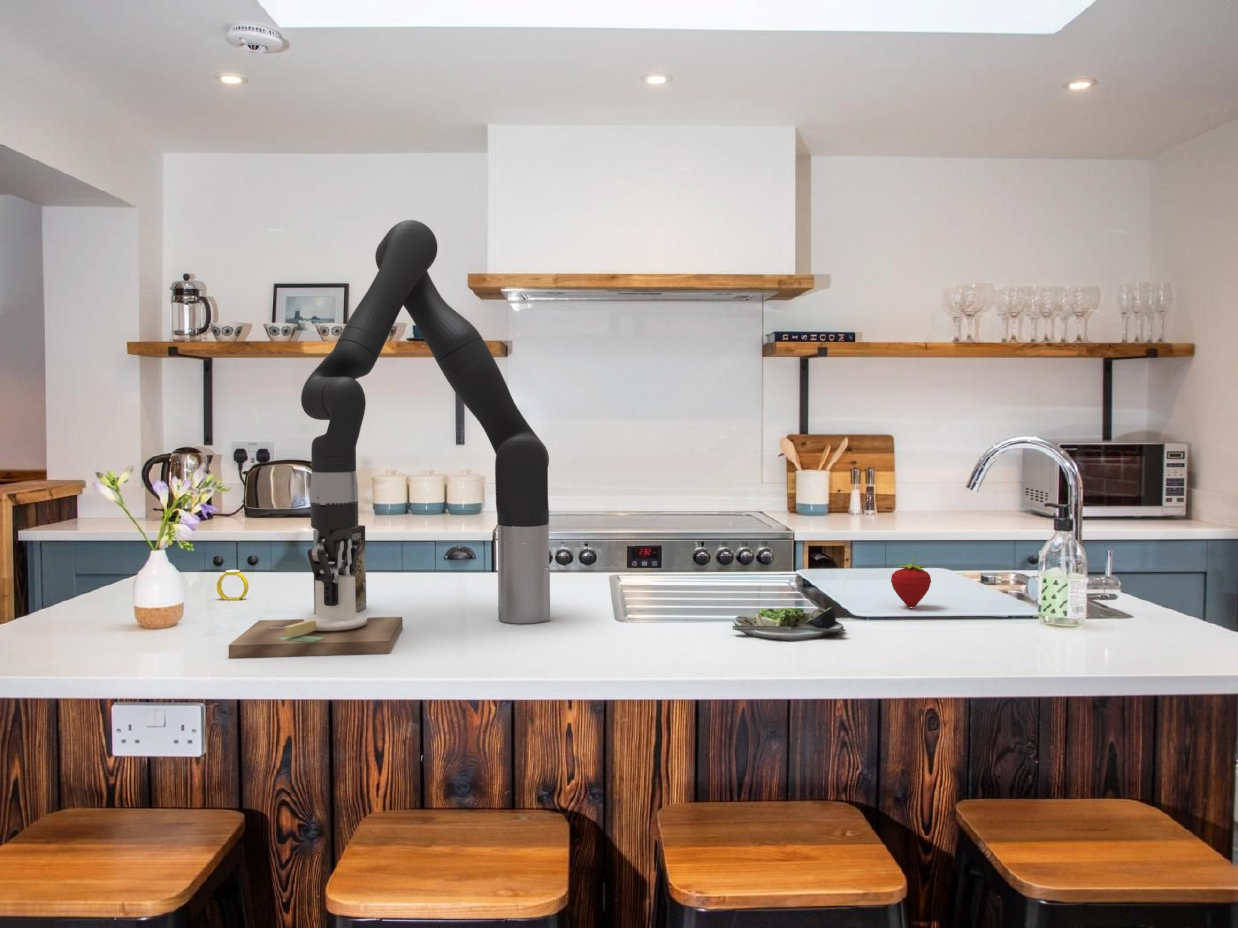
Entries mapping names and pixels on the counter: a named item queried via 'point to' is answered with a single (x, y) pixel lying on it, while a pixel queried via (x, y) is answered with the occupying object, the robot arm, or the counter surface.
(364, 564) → the coffee box
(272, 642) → the dial board
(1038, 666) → the counter surface
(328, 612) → the dial knob
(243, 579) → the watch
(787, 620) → the salad plate
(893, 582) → the strawberry
